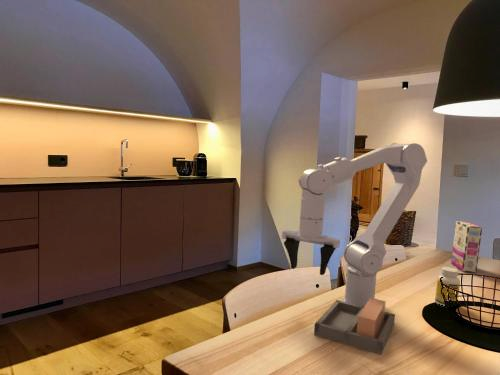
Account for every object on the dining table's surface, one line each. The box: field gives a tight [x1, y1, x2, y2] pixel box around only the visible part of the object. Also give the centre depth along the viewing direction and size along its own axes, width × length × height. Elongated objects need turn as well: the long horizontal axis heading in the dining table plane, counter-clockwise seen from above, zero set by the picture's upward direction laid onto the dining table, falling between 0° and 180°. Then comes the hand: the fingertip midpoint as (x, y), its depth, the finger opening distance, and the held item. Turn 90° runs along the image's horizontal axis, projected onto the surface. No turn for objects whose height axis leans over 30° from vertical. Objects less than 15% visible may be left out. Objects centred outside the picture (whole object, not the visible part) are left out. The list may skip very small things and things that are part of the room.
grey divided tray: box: [313, 299, 396, 356], centre depth 86 cm, size 16×14×2 cm
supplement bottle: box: [434, 266, 461, 307], centre depth 104 cm, size 5×5×10 cm
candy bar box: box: [450, 220, 483, 273], centre depth 139 cm, size 11×5×16 cm, turn 172°
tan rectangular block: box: [357, 298, 387, 339], centre depth 84 cm, size 12×4×5 cm, turn 151°
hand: (307, 270), depth 96 cm, fingers open, 7 cm apart
